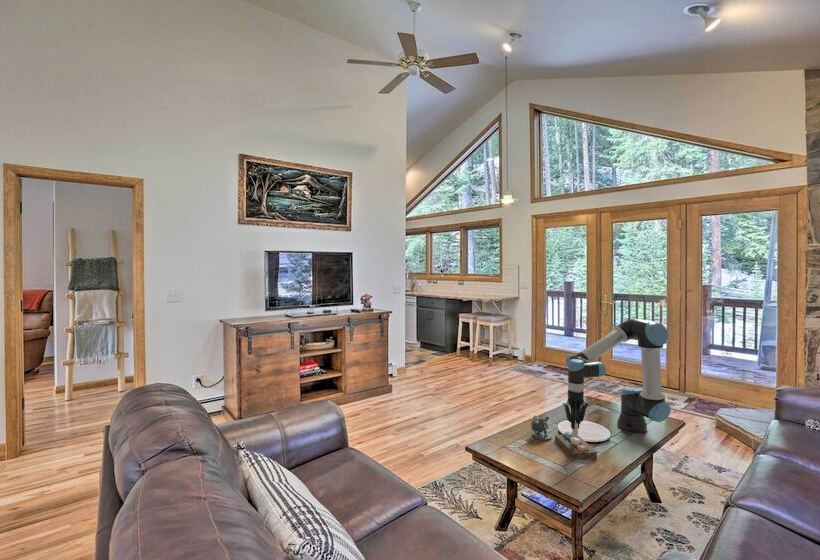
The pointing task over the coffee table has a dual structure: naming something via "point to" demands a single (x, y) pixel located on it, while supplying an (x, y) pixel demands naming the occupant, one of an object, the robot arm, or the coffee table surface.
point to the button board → (575, 448)
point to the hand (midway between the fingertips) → (574, 434)
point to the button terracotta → (581, 448)
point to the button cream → (575, 441)
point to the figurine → (540, 429)
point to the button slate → (568, 435)
